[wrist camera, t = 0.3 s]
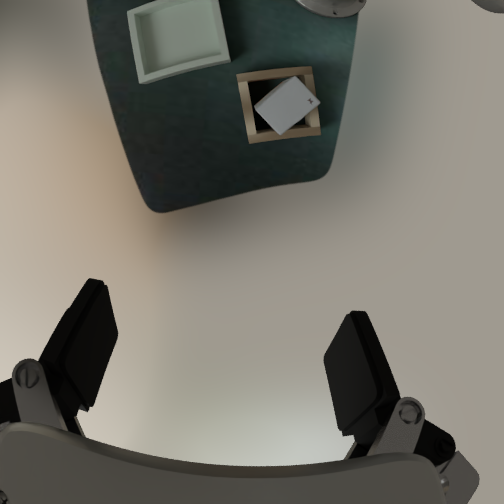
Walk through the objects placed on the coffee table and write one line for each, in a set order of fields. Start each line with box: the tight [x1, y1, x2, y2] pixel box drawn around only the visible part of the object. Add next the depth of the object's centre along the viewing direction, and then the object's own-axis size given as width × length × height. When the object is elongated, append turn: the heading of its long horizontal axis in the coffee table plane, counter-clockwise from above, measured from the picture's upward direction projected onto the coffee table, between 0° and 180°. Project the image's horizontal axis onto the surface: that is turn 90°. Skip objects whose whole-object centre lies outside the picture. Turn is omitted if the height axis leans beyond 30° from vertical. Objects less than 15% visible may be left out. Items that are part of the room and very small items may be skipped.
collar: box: [236, 66, 321, 144], centre depth 34 cm, size 10×10×4 cm
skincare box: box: [254, 76, 320, 135], centre depth 31 cm, size 6×4×12 cm
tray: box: [127, 0, 231, 84], centre depth 28 cm, size 13×13×3 cm
